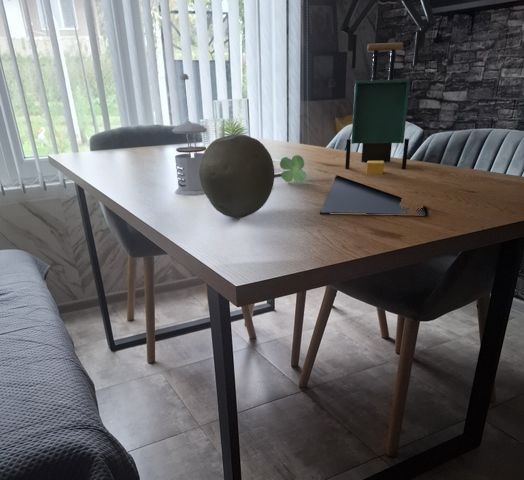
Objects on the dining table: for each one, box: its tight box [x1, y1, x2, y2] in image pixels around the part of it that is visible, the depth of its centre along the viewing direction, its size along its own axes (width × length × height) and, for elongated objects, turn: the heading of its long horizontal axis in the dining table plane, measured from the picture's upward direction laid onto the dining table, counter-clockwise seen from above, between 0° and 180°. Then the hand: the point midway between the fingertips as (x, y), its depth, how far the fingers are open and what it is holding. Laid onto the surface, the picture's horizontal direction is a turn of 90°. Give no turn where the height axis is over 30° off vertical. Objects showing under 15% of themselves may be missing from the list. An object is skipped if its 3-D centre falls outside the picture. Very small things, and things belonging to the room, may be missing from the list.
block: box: [366, 161, 385, 175], centre depth 122 cm, size 4×4×4 cm
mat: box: [319, 174, 427, 216], centre depth 110 cm, size 40×20×1 cm, turn 168°
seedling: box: [279, 154, 308, 183], centre depth 127 cm, size 7×8×7 cm
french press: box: [171, 73, 208, 196], centre depth 113 cm, size 10×12×25 cm
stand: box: [344, 137, 410, 170], centre depth 132 cm, size 14×16×9 cm
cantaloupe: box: [199, 133, 275, 219], centre depth 90 cm, size 14×14×15 cm
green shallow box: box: [351, 41, 411, 145], centre depth 119 cm, size 22×13×5 cm
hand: (383, 67), depth 110 cm, fingers open, 13 cm apart
